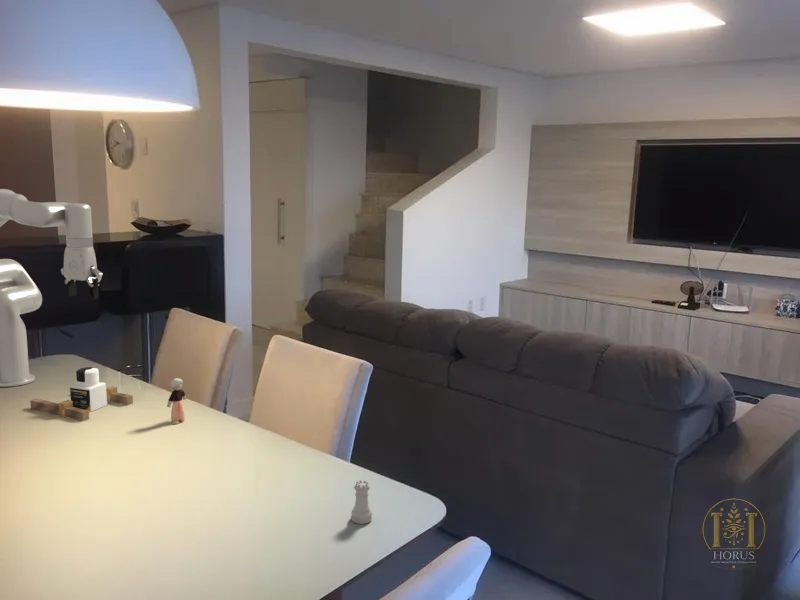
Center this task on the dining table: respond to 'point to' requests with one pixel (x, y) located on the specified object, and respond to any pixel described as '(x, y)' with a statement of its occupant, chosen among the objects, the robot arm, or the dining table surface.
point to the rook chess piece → (361, 504)
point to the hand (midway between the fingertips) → (82, 297)
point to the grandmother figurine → (177, 402)
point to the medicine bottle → (88, 390)
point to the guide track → (76, 413)
